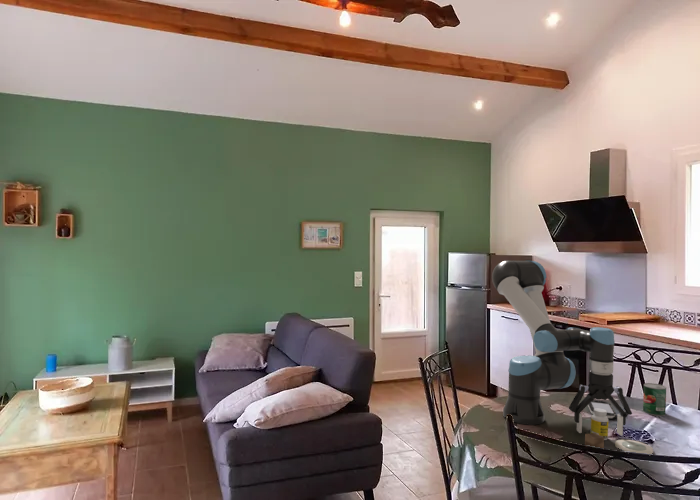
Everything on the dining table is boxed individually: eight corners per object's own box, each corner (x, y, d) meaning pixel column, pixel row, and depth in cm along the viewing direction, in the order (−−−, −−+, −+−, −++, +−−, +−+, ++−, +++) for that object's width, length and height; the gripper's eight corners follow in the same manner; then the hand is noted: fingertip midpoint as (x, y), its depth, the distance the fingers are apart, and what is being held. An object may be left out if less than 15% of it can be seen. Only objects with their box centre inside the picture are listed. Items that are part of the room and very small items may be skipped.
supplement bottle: (601, 441, 169) (602, 413, 169) (587, 436, 174) (588, 408, 173) (611, 439, 171) (612, 411, 171) (597, 433, 176) (598, 406, 176)
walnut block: (593, 450, 162) (593, 438, 162) (584, 445, 166) (585, 433, 165) (603, 449, 163) (604, 437, 163) (594, 444, 166) (595, 433, 166)
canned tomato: (638, 411, 201) (639, 384, 201) (649, 408, 205) (650, 382, 205) (659, 417, 194) (659, 389, 194) (669, 414, 198) (670, 387, 198)
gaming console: (585, 404, 211) (586, 398, 211) (609, 406, 208) (609, 400, 208) (592, 418, 192) (592, 412, 192) (618, 421, 189) (618, 415, 189)
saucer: (623, 454, 159) (623, 451, 159) (609, 440, 170) (609, 438, 170) (660, 456, 158) (660, 453, 158) (643, 442, 169) (643, 440, 169)
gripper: (567, 373, 170) (565, 434, 170) (643, 377, 167) (642, 439, 167) (560, 368, 177) (559, 426, 178) (633, 371, 174) (631, 430, 175)
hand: (599, 432), depth 172 cm, fingers open, 13 cm apart
